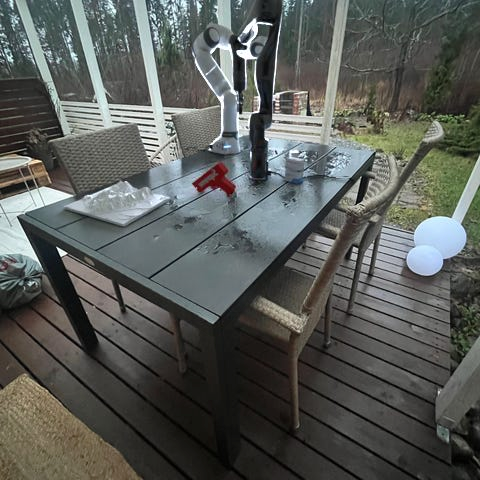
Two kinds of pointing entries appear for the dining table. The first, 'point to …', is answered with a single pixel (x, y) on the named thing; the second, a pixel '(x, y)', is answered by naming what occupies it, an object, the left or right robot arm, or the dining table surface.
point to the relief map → (118, 203)
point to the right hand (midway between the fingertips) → (239, 113)
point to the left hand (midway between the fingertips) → (261, 86)
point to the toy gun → (215, 180)
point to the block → (294, 154)
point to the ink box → (294, 170)
